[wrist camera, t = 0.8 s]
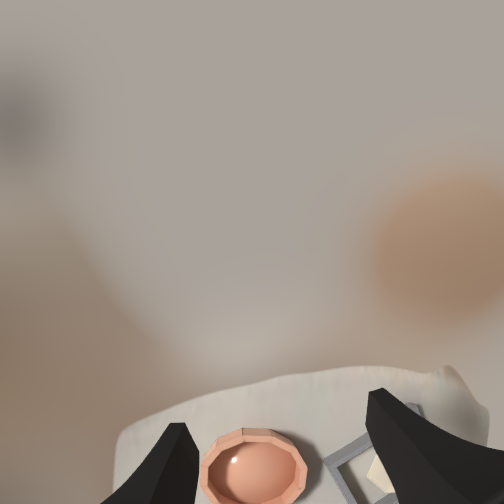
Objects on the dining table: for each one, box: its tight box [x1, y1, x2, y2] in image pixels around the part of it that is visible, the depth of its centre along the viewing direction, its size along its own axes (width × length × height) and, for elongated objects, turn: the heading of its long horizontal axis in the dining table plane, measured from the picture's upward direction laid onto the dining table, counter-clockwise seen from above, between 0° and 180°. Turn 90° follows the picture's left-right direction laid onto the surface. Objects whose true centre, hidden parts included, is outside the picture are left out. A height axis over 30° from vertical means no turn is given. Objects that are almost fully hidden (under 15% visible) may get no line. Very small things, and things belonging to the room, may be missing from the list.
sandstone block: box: [367, 454, 395, 493], centre depth 25 cm, size 4×4×6 cm
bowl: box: [200, 428, 308, 504], centre depth 27 cm, size 12×12×3 cm
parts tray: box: [323, 403, 421, 504], centre depth 27 cm, size 14×14×2 cm
